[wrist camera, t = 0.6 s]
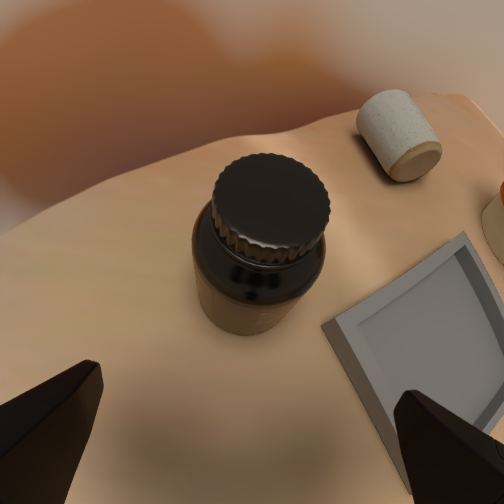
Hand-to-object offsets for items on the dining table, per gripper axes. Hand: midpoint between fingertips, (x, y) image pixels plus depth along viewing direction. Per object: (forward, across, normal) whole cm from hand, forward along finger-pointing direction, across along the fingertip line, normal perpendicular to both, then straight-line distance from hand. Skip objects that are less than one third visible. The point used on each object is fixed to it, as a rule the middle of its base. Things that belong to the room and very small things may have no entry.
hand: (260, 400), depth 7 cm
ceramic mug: (+27, -16, -10) cm, 33 cm away
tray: (+11, -19, +7) cm, 23 cm away
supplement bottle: (+15, 0, +4) cm, 15 cm away
